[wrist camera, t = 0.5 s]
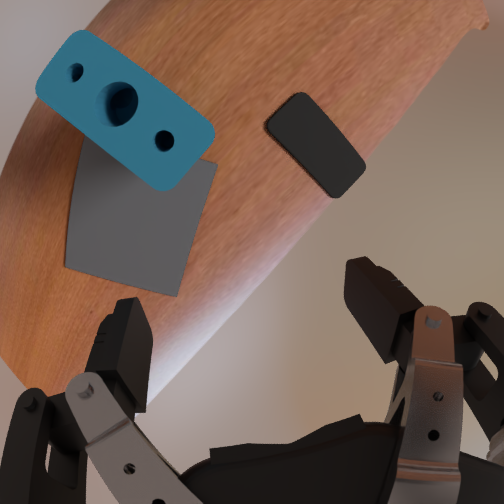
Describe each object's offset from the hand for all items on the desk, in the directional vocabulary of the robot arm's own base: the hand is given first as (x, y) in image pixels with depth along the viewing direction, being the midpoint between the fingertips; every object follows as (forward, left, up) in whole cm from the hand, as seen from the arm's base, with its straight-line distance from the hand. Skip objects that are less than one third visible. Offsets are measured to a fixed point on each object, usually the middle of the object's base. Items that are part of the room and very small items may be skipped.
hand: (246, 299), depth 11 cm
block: (-5, -9, -28) cm, 30 cm away
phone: (-8, +12, -28) cm, 32 cm away
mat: (+9, -9, -28) cm, 30 cm away
